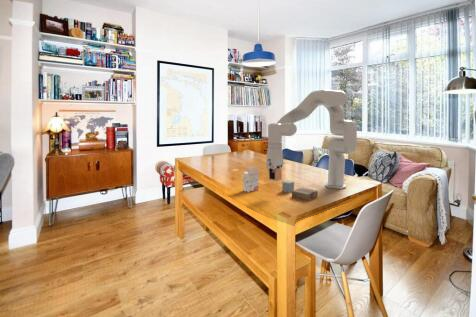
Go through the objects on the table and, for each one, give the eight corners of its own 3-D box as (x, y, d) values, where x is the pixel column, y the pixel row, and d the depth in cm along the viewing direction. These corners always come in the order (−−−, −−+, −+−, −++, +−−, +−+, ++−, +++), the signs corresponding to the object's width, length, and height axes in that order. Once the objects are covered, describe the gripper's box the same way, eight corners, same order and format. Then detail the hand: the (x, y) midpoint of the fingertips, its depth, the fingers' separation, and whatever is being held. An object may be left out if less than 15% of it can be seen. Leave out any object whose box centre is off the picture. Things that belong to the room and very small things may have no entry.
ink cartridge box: (253, 188, 161) (253, 165, 159) (258, 190, 157) (258, 166, 155) (242, 190, 156) (242, 167, 154) (247, 192, 152) (247, 168, 150)
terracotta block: (274, 177, 146) (274, 167, 145) (281, 179, 142) (281, 168, 141) (269, 179, 142) (268, 169, 141) (276, 181, 139) (276, 170, 138)
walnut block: (302, 193, 149) (302, 187, 149) (317, 197, 142) (317, 190, 141) (291, 197, 143) (292, 190, 142) (307, 201, 135) (307, 194, 135)
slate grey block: (287, 189, 157) (287, 180, 156) (293, 191, 154) (294, 181, 153) (282, 191, 154) (282, 181, 153) (289, 193, 150) (289, 183, 149)
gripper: (278, 143, 148) (278, 174, 151) (259, 147, 136) (260, 180, 139) (289, 144, 142) (289, 176, 146) (270, 148, 131) (271, 182, 134)
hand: (275, 177), depth 142 cm, fingers closed on terracotta block, 5 cm apart
